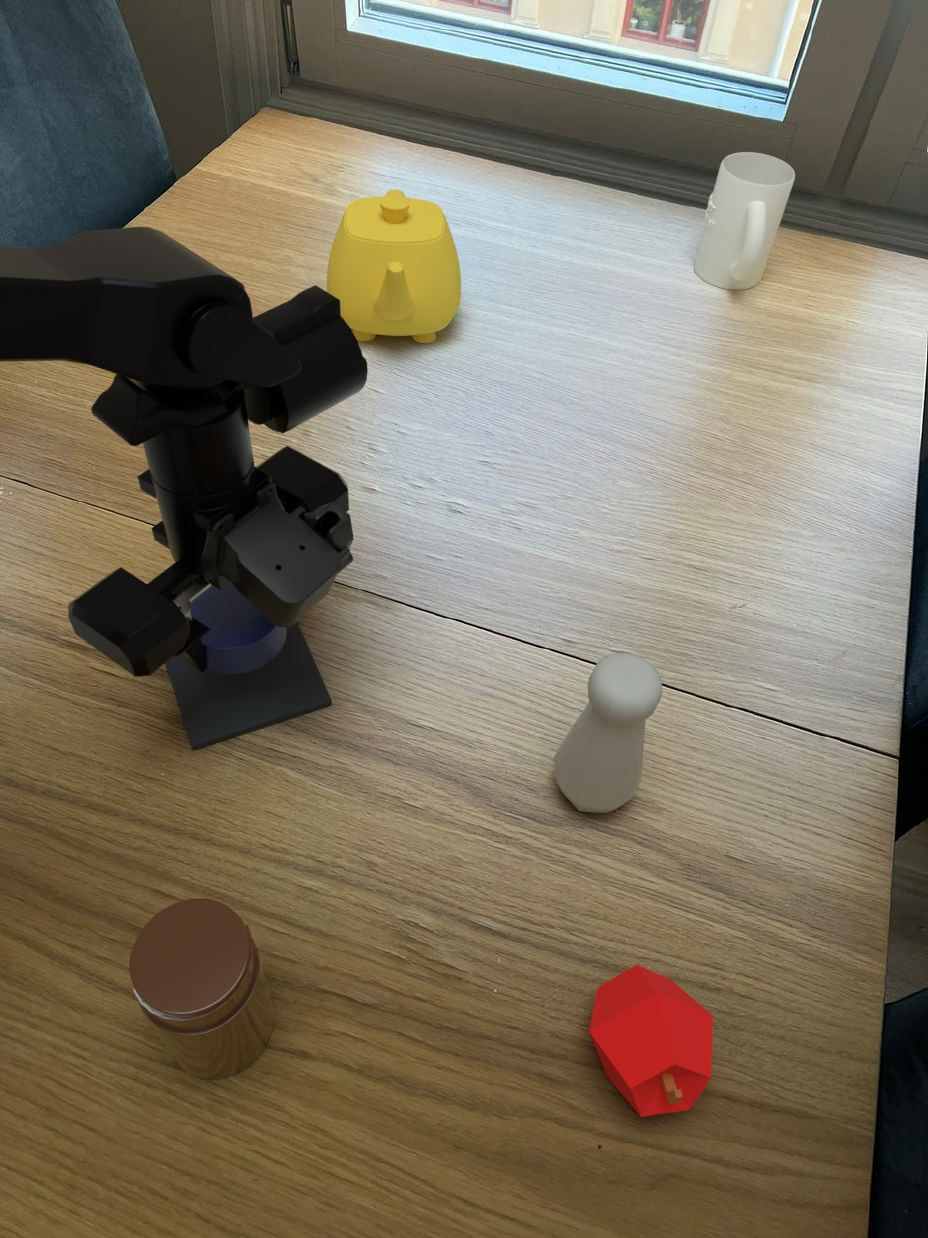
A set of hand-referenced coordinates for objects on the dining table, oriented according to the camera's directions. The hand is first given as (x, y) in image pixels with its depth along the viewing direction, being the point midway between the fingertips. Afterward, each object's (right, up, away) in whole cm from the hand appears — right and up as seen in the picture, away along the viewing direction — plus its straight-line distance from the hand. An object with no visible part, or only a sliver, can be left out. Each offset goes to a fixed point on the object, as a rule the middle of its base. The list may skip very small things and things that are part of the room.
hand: (236, 636), depth 64 cm
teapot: (+8, +32, +33) cm, 47 cm away
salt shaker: (+24, -10, -1) cm, 27 cm away
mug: (+46, +40, +44) cm, 75 cm away
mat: (0, -3, +3) cm, 5 cm away
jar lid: (0, +2, -2) cm, 3 cm away
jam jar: (+2, -22, -12) cm, 25 cm away
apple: (+26, -24, -12) cm, 37 cm away
